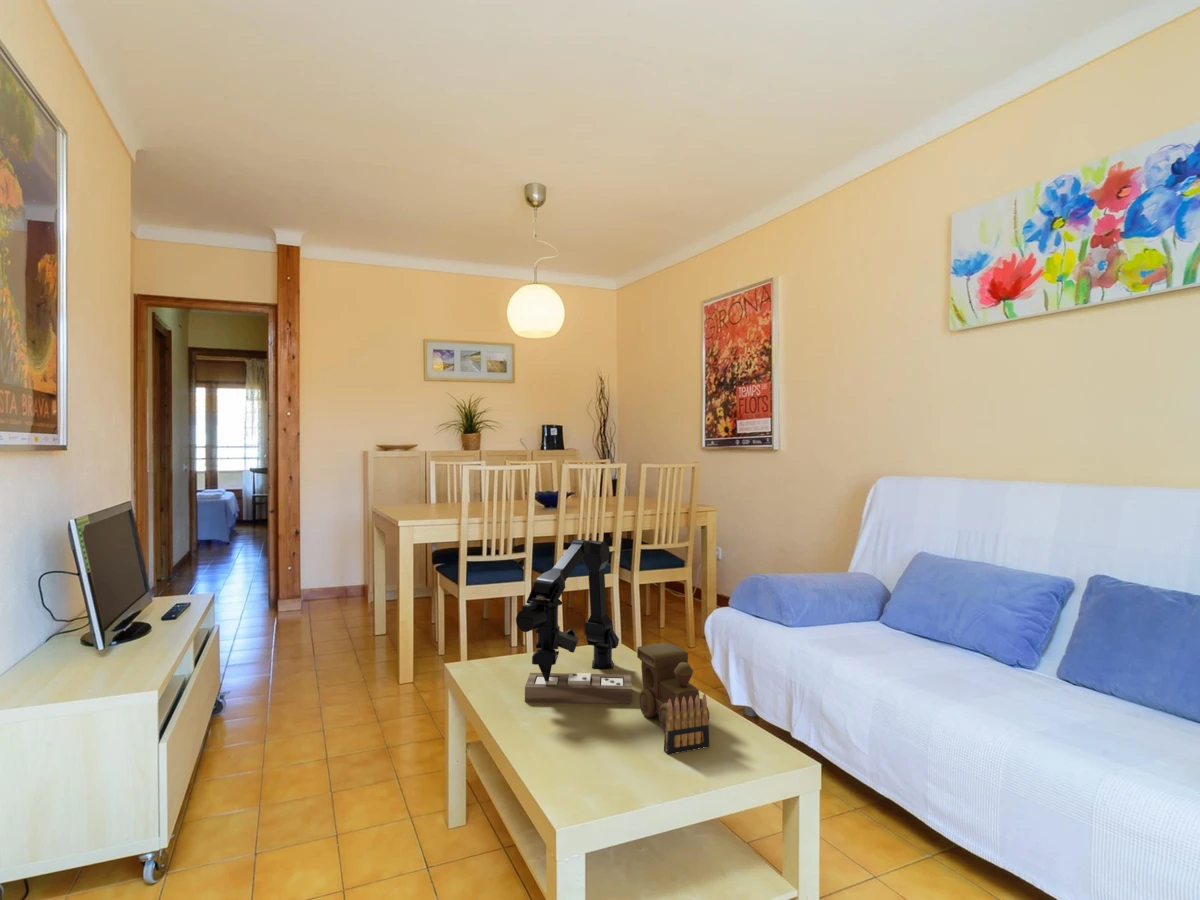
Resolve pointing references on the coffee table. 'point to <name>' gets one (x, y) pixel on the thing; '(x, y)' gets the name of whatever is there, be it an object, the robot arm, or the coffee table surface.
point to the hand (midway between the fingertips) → (546, 680)
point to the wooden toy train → (665, 679)
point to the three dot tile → (612, 681)
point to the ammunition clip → (686, 726)
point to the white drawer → (551, 680)
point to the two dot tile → (579, 679)
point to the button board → (579, 690)
